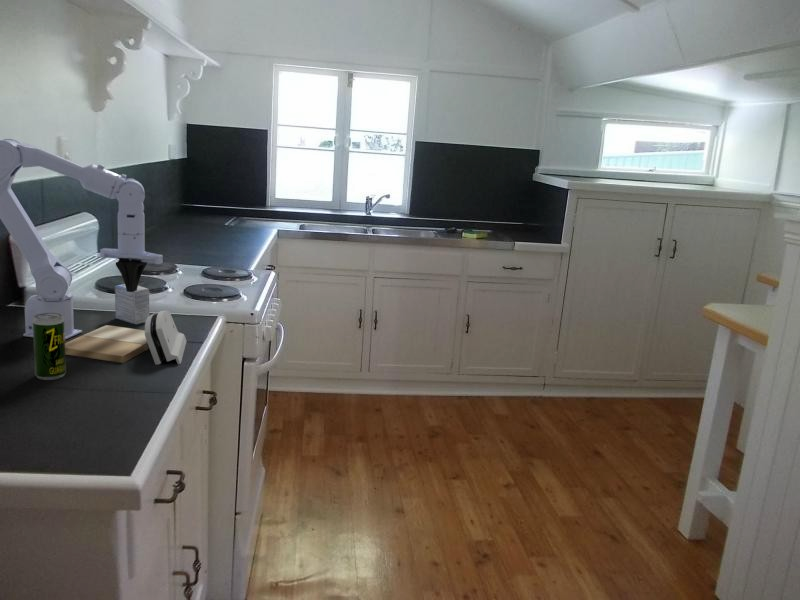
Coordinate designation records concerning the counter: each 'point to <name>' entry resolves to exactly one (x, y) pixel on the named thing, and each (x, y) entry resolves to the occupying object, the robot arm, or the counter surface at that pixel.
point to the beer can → (49, 346)
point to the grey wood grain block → (132, 304)
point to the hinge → (164, 338)
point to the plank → (103, 349)
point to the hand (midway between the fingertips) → (131, 291)
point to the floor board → (120, 335)
